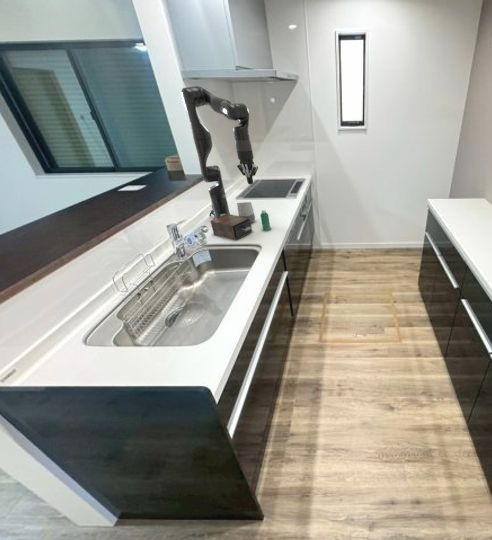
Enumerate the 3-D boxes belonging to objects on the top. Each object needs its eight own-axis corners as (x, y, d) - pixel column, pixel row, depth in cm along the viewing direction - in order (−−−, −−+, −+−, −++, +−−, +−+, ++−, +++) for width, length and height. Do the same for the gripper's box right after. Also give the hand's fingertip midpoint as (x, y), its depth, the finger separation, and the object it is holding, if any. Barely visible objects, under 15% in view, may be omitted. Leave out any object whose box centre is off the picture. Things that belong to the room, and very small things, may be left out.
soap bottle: (261, 230, 177) (258, 210, 170) (266, 227, 180) (263, 208, 174) (267, 231, 175) (263, 212, 169) (272, 228, 178) (269, 209, 172)
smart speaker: (256, 219, 193) (252, 197, 185) (254, 224, 185) (250, 202, 178) (241, 220, 192) (236, 199, 184) (239, 225, 184) (234, 203, 177)
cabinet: (251, 232, 175) (249, 218, 170) (235, 240, 165) (232, 225, 161) (230, 227, 182) (227, 213, 178) (213, 234, 173) (210, 220, 168)
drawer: (257, 232, 172) (255, 221, 168) (242, 240, 163) (240, 228, 160) (232, 226, 180) (229, 216, 177) (217, 233, 172) (214, 222, 168)
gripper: (229, 149, 148) (236, 184, 157) (248, 151, 142) (255, 187, 151) (240, 147, 153) (246, 181, 162) (259, 148, 148) (265, 183, 157)
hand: (250, 184), depth 157 cm, fingers closed
